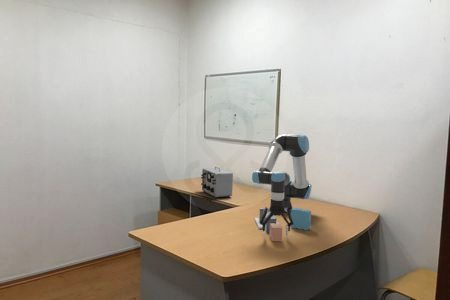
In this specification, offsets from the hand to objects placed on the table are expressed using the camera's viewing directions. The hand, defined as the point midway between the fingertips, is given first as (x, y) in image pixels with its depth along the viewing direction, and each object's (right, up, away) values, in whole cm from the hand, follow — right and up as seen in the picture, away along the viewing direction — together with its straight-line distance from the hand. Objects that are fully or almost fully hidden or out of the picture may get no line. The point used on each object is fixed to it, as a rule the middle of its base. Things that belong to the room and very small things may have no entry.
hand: (275, 236), depth 189 cm
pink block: (0, -2, +1) cm, 2 cm away
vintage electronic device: (-38, +8, +113) cm, 119 cm away
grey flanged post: (-1, 0, +26) cm, 26 cm away
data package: (+19, -1, +22) cm, 29 cm away
